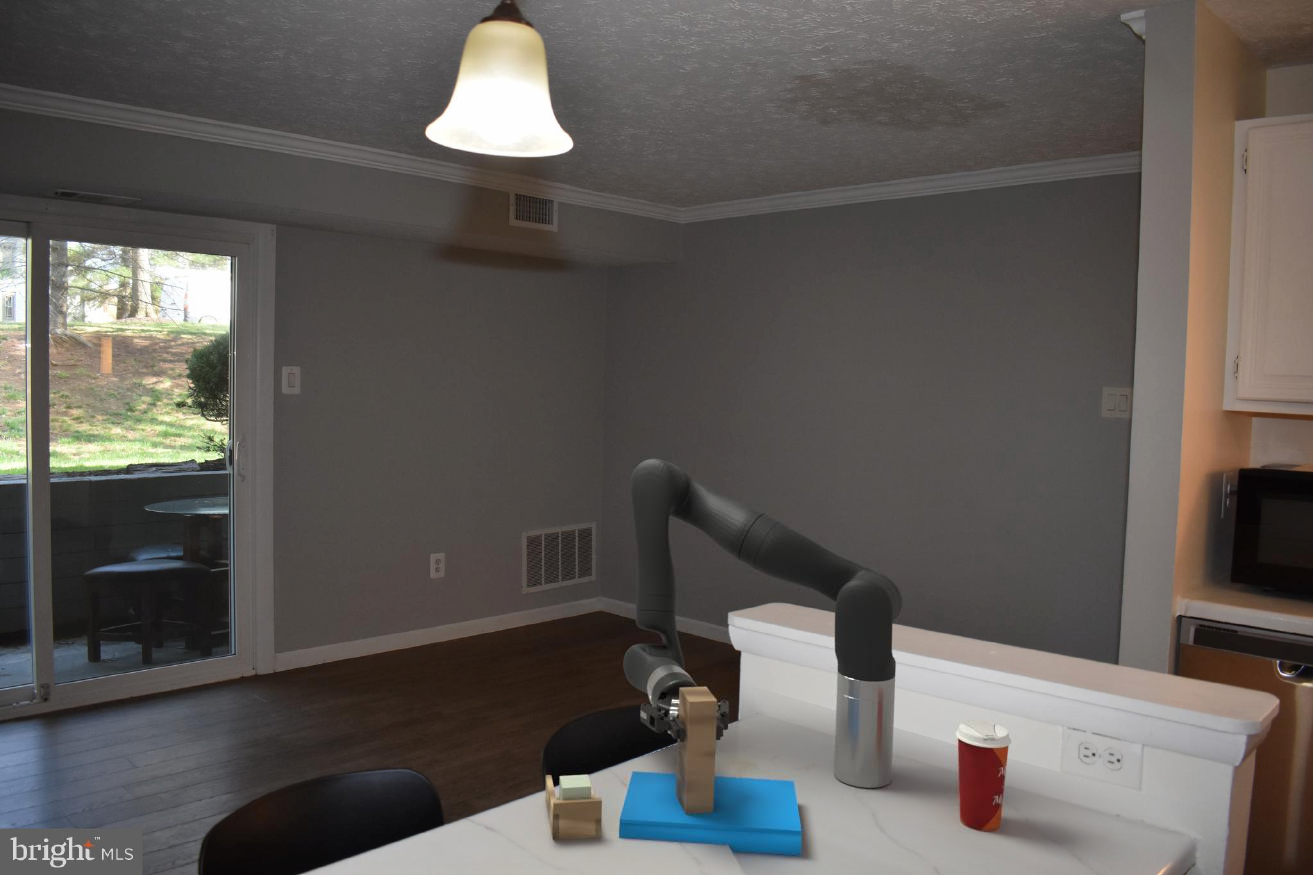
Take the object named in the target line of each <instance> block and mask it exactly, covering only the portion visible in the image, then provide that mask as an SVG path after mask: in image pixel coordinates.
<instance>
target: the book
mask: <svg viewBox="0 0 1313 875" xmlns="http://www.w3.org/2000/svg"><path fill="white" fill-rule="evenodd" d="M625 795H626V796H625V798H624V801H623V805H622V806H623V807H622V809H621V812H620V816H619V822H618V823H619V825H618V838H622V839H623V838H625V839H636V840H637V839H638V840H653V841H668V842H680V843H681V842H684V843H697V844H713V845H714V844H715V845H727V846H728V847H729V849H730V851H731V852H740V853H741V852H744V853H759V854H772V855H774V854H775V855H787V856H788V855H790V856H802V825H801V818H800V813H799V807H798V806H799V805H798V800H797V799H798V798H797V794H796V785H795V781H794V780H784V779H783V780H782V779H767V778H766V779H765V778H752V777H751V778H750V777H733V776H717V775H716V776H715V775H714V800H713V812H712V813H697V814H685V813H684V811H683V809H682V807H681V805H680V803H679V801H678V799H677V797H676V773H668V772H667V773H665V772H663V773H662V772H649V771H648V772H647V771H632V773H631V777H630V781H629V784H628V788H627V791H626V794H625Z"/></svg>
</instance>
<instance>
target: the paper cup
mask: <svg viewBox="0 0 1313 875" xmlns="http://www.w3.org/2000/svg"><path fill="white" fill-rule="evenodd" d="M955 736H956V738H957V760H958V762H957V763H958V799H959V800H958V801H959V802H958V803H959V804H958V805H959V821H960V823H961V824H962V825H964V826H965V827H967V828H969V829H972V830H976V831H981V832H993V831H994V832H995V831H997V830H998V829H1000V826H1001V820H1002V812H1003V811H1002V810H1003V801H1004V793H1005V784H1006V772H1007V766H1008V764H1007V763H1008V754H1009V746H1010V745H1011V744H1012V739H1011V737H1010V736H1009V731H1008V730H1007V729H1006V728H1005V727H1003V726H1002V725H999V724H995V723H991V722H988V721H987V722H986V721H980V720H979V721H977V720H975V721H974V720H972V721H971V720H970V721H965V722H961V723H960V724H959V726H958V730H957V731H956V732H955Z"/></svg>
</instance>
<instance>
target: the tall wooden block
mask: <svg viewBox="0 0 1313 875" xmlns="http://www.w3.org/2000/svg"><path fill="white" fill-rule="evenodd" d="M717 704H718V700H717V698H716V697H715V695H714V694H713V693H712V692H711V690H710V689H709V688H708V687H707V686H698V687H683V688H680V689H679V717H678V718H679V719H680V721H681V722H682V724H683V725H684V728H685V740H684V742H679V741H678V740H677V747H676V748H677V751H676V772H675V774H676V797H677V799H678V801H679V803H680V805H681V807H682V809H683V811H684V813H685V814H697V813H712V812H713V800H714V776H715V770H716V769H715V768H716V749H717V748H716V747H717V745H716V743H717V740H716V722H717Z"/></svg>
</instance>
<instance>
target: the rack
mask: <svg viewBox="0 0 1313 875" xmlns="http://www.w3.org/2000/svg"><path fill="white" fill-rule="evenodd" d="M589 780H590V778H589ZM590 783H591V780H590ZM591 784H592V783H591ZM544 790H545V793H544V794H545V797H544V799H545V804H546V810H547V815H548V820H549V825H550V832H551V836H552V840H553V841H558V840H571V839H572V840H573V839H585V838H586V839H587V838H588V839H589V838H601V837H602V817H603V816H602V813H603V811H602V809H603V808H602V807H603V799H602V797H601V796H599V797H596V795H595V793H594V789H593V786H592V785H591V798H582V799H566V800H559V796H558V797H557V796H556V792H555V786H554V782H553V777H552V775H551V774H546V775H545V789H544Z"/></svg>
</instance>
